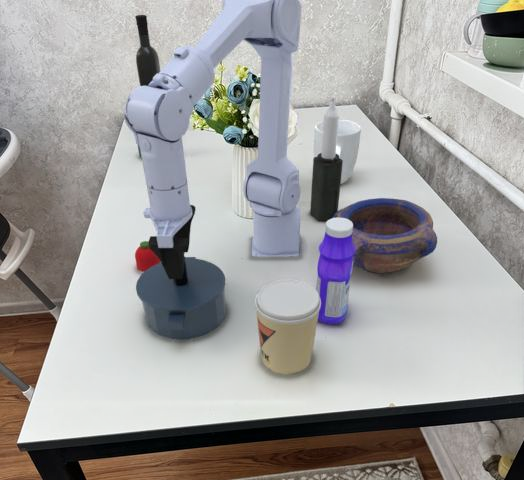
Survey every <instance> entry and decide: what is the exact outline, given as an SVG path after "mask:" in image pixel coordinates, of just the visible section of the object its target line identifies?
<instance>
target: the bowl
mask: <svg viewBox="0 0 524 480" xmlns="http://www.w3.org/2000/svg"><path fill="white" fill-rule="evenodd" d="M338 217H340V218H346V219H348V220H350V221H351V222H352V223H353V232H352V241H353V245H354V246H355V253H354V255H353V264H355V265H357V266H358V267H360V268H361V269H363V270H365V271H368V272H372V273H376V274H388V273H395V272H398V271H400V270H403V269H406V268H407V267H409V266H411V265H413V264H414V263H417V261H419V260H421V259H423V258H424V257H427V256H429V255H431V254H432V253H433V252H434V251H435V250H436V248H437V245H438V236H437V233H436V232H435V230H434V220H433V218H432V215H431V214H430V213H429V212H428V211H427V210H426V209H424V208H423V207H422V206H420V205H418V204H416V203H413V202H411V201H409V200H407V199H399V198H391V197H388V198H387V197H378V198H367V199H364V200H359V201H356V202H354V203H351V204H349V205H347V206H345V207H343V208H340V209H338V212H337V213H336V214H335V215H334V216H333V217H332V218H338Z"/></svg>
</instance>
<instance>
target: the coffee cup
mask: <svg viewBox="0 0 524 480" xmlns="http://www.w3.org/2000/svg"><path fill="white" fill-rule="evenodd" d="M254 299H255V300H254V306H255V310H256V319H257V320H256V321H257V328H258V338H259V339H258V340H259V347H260V355H261V361H262V363H263V365H264V366H265V367H266V368H267V369H269V370H270V371H272V372H274V373H278V374H282V375H283V374H284V375H290V374H295V373H299V372H301V371H303V370H305V369H307V368H308V367H309V366H310V363H311V359H312V354H313V349H314V343H315V338H316V332H317V326H318V322H319V321H318V315H319V310H320V307H321V299H320V296H319V295H318V292H317V291H316V288H315V287H314V286H312V285H311V284H309V283H308V282H305V281H302V280H298V279H291V278H284V279H277V280H273V281H271V282H268V283H266V284H264V285H263V286H261V288H260V289H259V290H258V292H257V294H256V296H255V298H254Z"/></svg>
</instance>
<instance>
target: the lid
mask: <svg viewBox="0 0 524 480" xmlns="http://www.w3.org/2000/svg"><path fill="white" fill-rule="evenodd" d="M185 257H186V256H184V271H183V277H182V279H169V278H168V276H167V274H166V272H165V270H164V267H163V265H162V263H158V264H156V265H154V266H152V267H150V268H149V269H147V270H146V271H145V272H142V274H140V276H139V277H138V279H137V281H136V283H135V291H136V295H137V297H138V299H139V300H140V301H141V303H142V302H143V303H145V304H146V305H148V306H150V307H152V308H154V309H158V310H162V311H169V312H181V311H189V310H193V309H197V308H200V307H203V306H205V305H207V304H209V303H211V302H212V301H214V300H215V299H216V298H218V297H219V296H220V295H221V293H222V292H223V290H224V291H225V289H226V288H225V287H226V276H225V273H224V271H223V270H222V269H221V267H219V266H218V265H216V264H214V263H212V262H210V261H208V260H205V259H201V258H196V259H194V258H185ZM143 303H142V304H143Z"/></svg>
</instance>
